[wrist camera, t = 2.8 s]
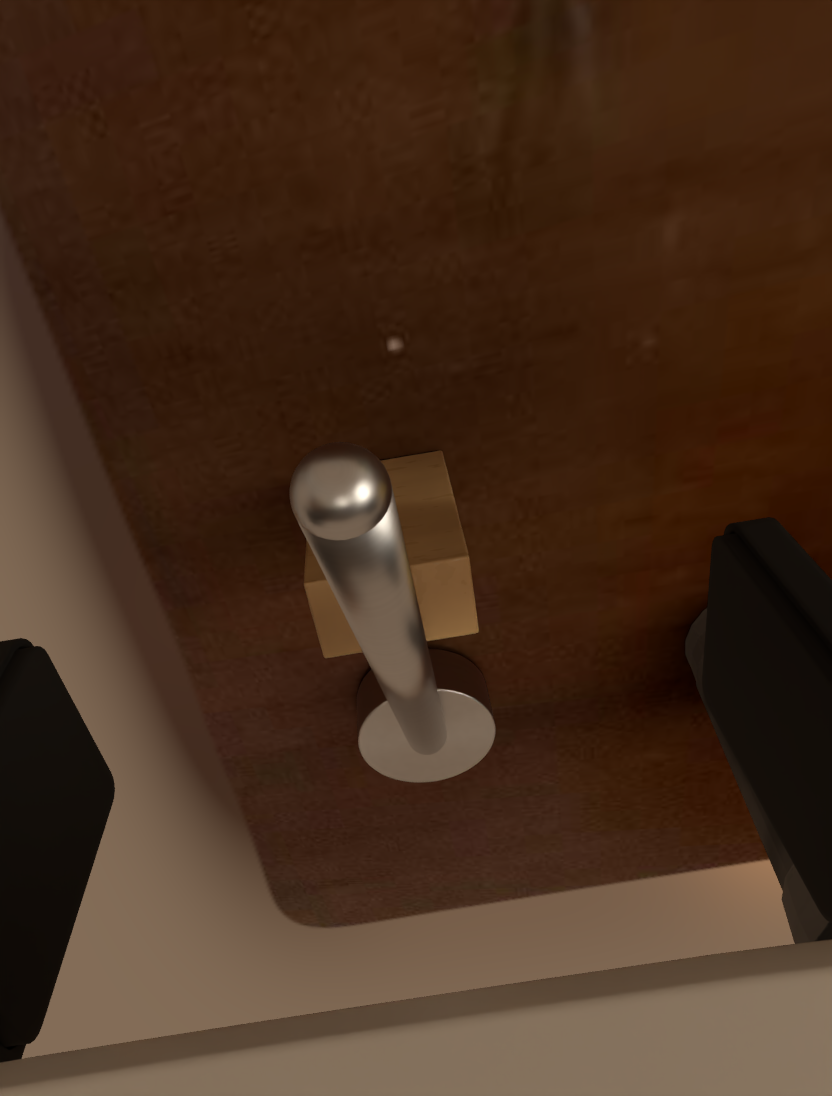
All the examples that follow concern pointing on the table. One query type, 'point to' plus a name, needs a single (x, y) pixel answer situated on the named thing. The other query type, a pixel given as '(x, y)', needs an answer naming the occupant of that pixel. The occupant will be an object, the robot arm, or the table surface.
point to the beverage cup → (763, 820)
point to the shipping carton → (411, 559)
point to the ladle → (389, 623)
